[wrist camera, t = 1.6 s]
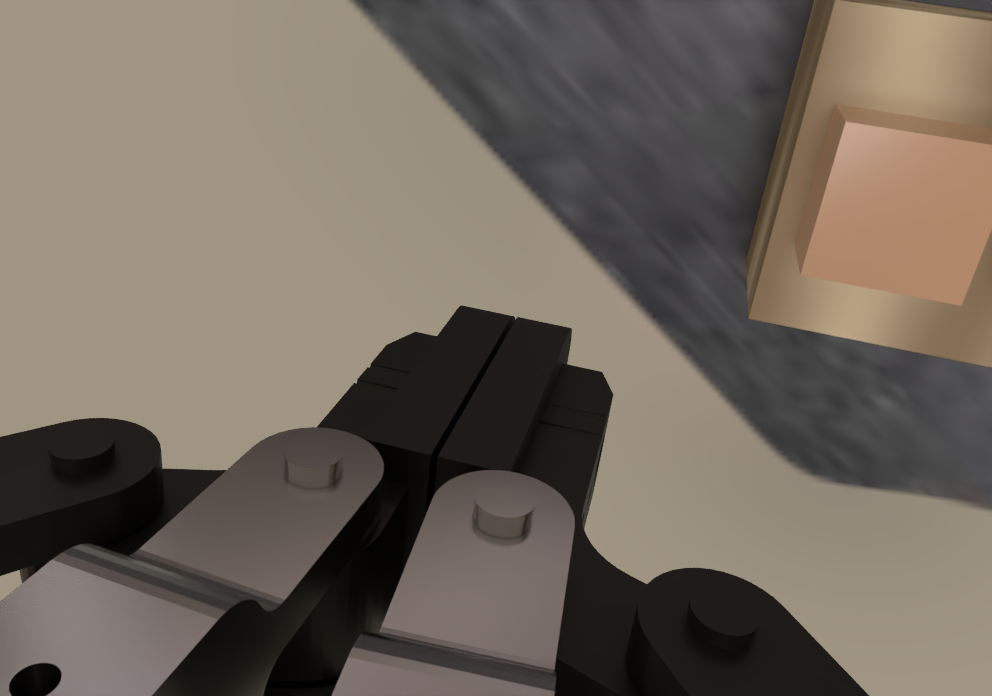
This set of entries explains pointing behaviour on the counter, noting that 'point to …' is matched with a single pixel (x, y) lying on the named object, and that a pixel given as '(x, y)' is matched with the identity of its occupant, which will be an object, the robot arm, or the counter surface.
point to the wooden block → (814, 92)
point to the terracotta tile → (898, 204)
